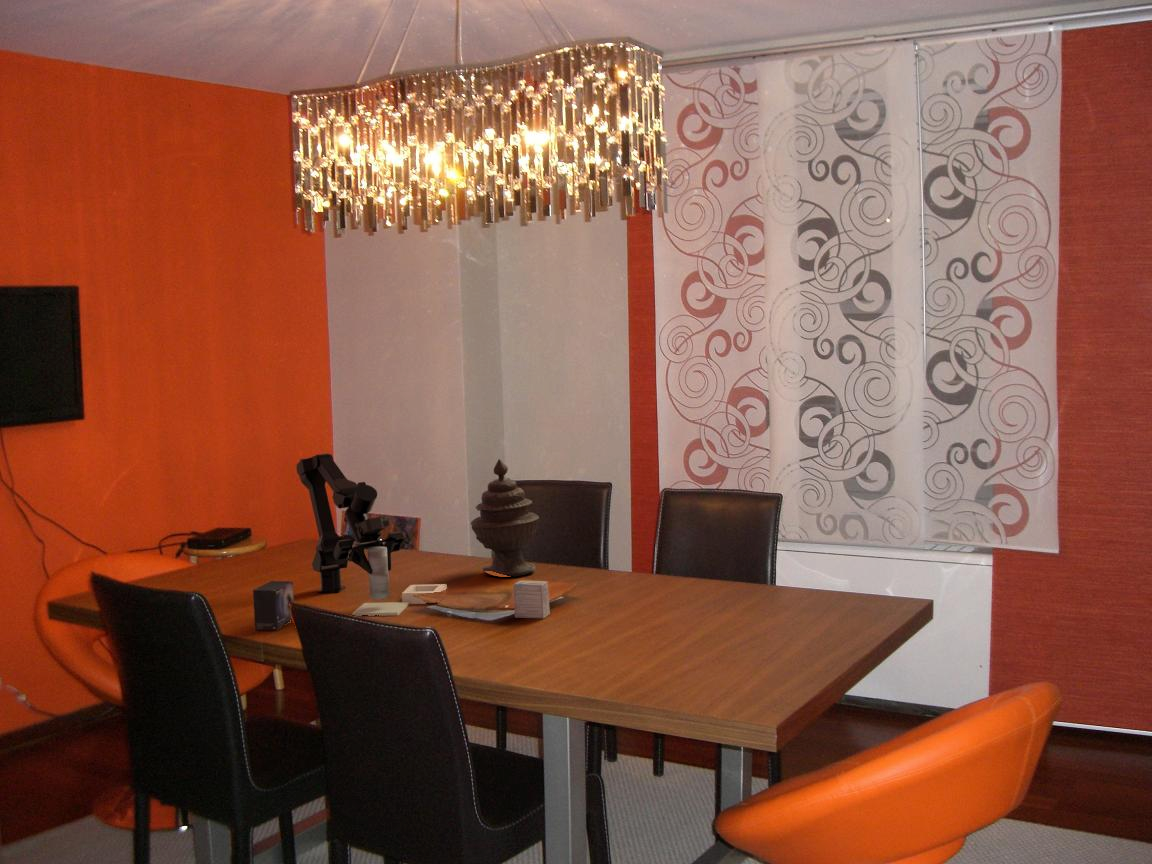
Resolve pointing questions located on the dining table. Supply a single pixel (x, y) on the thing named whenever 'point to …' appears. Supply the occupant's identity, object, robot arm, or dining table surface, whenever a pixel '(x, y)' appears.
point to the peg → (378, 573)
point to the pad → (381, 609)
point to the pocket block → (420, 592)
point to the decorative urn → (505, 524)
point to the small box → (272, 605)
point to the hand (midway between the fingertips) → (380, 571)
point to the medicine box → (531, 599)
